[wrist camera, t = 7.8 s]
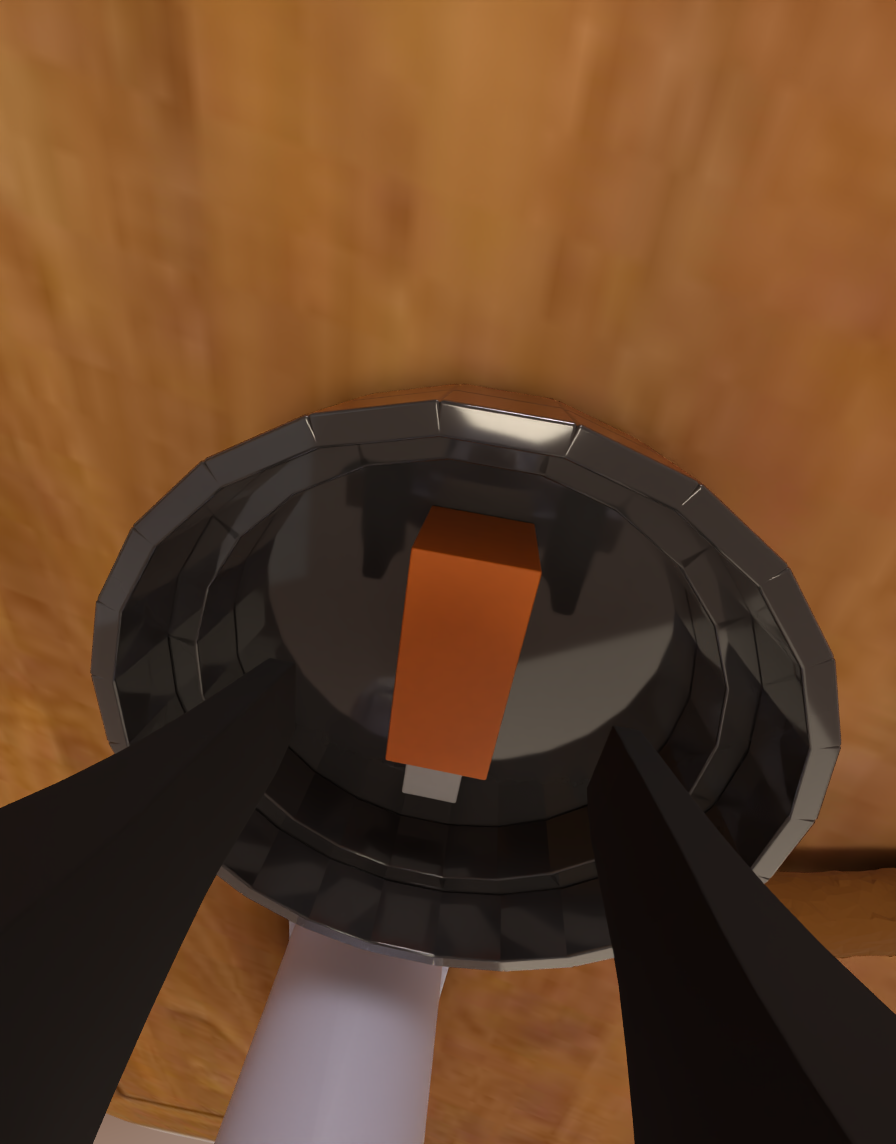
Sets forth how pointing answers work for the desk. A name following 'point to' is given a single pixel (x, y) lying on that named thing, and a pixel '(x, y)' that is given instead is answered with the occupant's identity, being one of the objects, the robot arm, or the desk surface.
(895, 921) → the primitive tool
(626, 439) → the bowl
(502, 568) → the chisel
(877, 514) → the desk surface
